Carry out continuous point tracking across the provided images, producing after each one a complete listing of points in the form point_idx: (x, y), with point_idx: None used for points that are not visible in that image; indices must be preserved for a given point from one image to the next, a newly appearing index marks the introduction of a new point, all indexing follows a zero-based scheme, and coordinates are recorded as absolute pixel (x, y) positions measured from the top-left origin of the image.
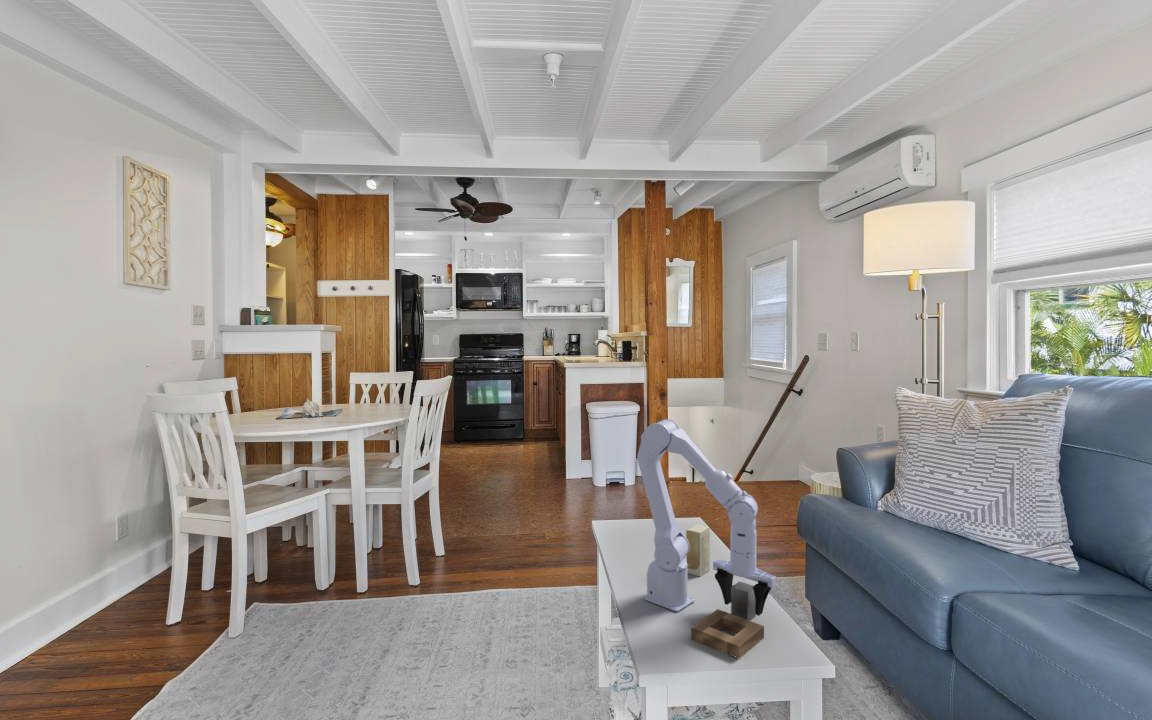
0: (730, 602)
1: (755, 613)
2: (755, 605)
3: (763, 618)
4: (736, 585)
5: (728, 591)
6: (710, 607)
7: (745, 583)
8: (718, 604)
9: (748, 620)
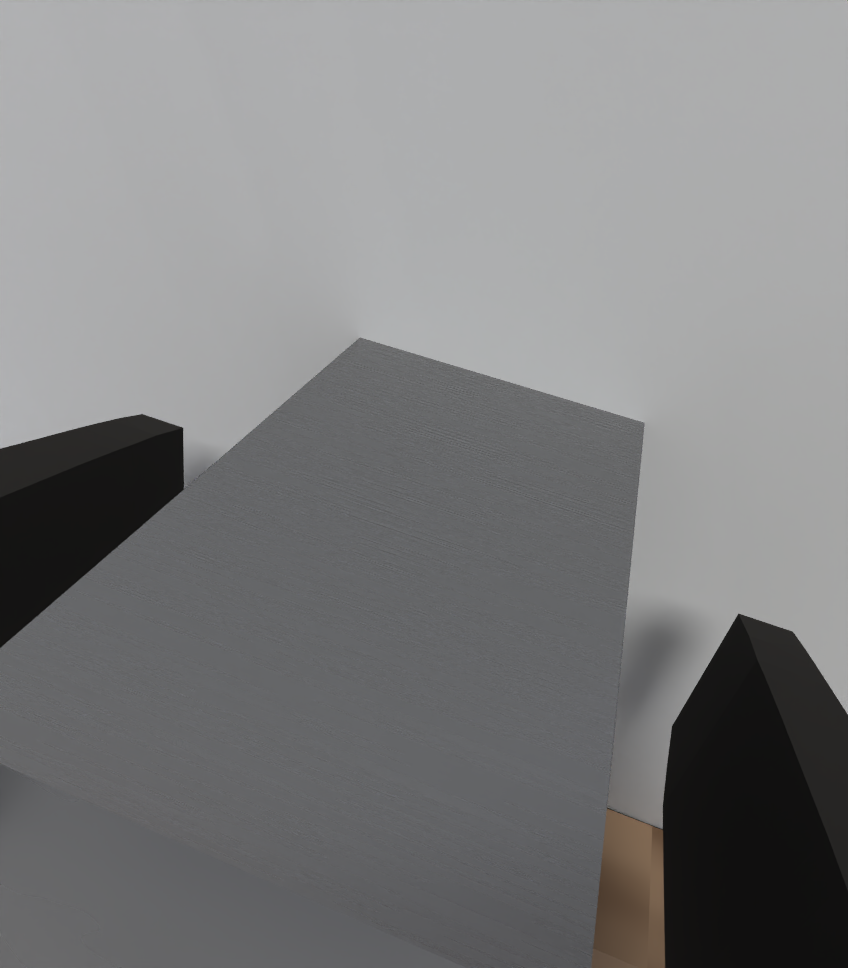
0: (181, 463)
1: (640, 448)
2: (667, 932)
3: (792, 439)
4: (47, 966)
5: (13, 634)
6: (31, 414)
7: (152, 835)
8: (43, 275)
9: (595, 954)
